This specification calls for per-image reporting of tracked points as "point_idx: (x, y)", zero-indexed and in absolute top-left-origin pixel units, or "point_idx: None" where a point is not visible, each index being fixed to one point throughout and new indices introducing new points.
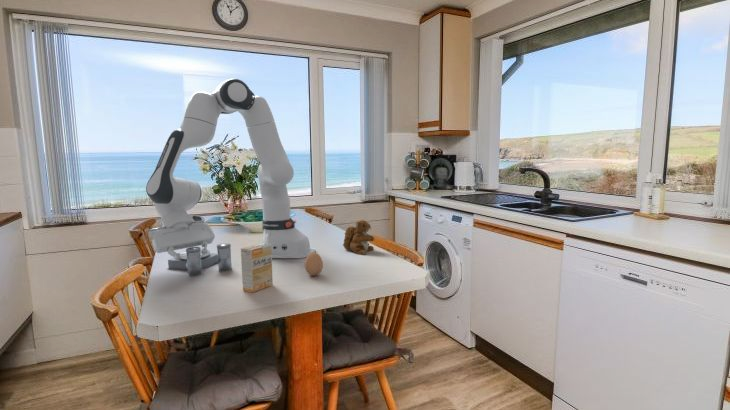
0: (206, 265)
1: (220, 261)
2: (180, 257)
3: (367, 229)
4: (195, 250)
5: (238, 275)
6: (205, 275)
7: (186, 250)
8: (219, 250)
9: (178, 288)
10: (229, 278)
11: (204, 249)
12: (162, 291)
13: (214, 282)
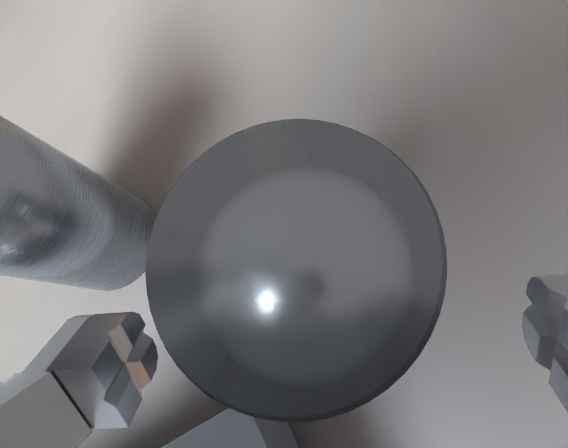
0: (162, 446)
1: (104, 188)
2: (537, 276)
3: None
4: (295, 123)
5: (139, 51)
6: None
7: (443, 246)
8: (2, 135)
9: (548, 19)
10: (204, 28)
11: (80, 347)
12: None
13: (305, 7)
